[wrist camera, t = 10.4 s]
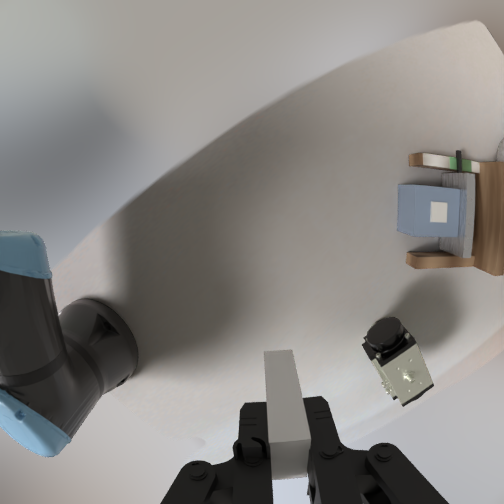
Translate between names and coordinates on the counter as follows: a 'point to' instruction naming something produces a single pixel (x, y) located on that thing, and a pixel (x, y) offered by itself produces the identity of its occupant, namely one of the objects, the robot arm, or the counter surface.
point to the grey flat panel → (461, 211)
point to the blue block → (428, 211)
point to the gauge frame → (485, 219)
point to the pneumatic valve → (397, 360)
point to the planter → (500, 152)
